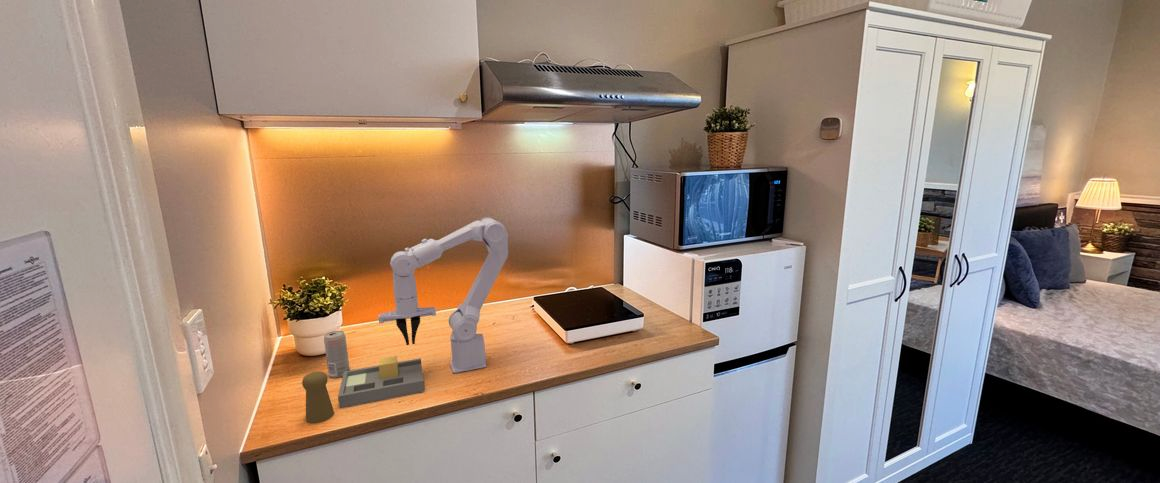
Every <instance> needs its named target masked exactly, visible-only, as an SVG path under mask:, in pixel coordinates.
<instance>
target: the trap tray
mask: <svg viewBox="0 0 1160 483" xmlns="http://www.w3.org/2000/svg"><path fill="white" fill-rule="evenodd" d="M397 363H398V376H395V377H390V378H384V379H380V373H379V364H378V365H373V366H369V367H368V366H367V367H362V368H361V367H360V368H356V369H350V370H349V371H344V373H343V377H341V381H340V382H341V383H340V387H339V391H338V394H337V397H338V407H339V409H342V408H347V407H352V406H357V405H363V404H367V403H373V402H378V401H379V402H380V401H383V400H389V399H393V398H400V397H404V396H410V395H414V394H421V393H425V382H424V375H423V374H424V373H423V366H422V365H423V364H422V357H421V358H420V357H419V358H413V359H408V360H403V361H397Z"/></svg>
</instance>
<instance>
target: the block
mask: <svg viewBox="0 0 1160 483" xmlns="http://www.w3.org/2000/svg"><path fill="white" fill-rule="evenodd" d="M397 362H398V355H391V356H385V357H380V358H379V359H378V365H379V373H380V379H384V378H390V377H395V376H398V363H397Z"/></svg>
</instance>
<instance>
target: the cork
mask: <svg viewBox="0 0 1160 483" xmlns="http://www.w3.org/2000/svg"><path fill="white" fill-rule="evenodd" d="M327 383H328V375H327V373H325V372H324V371H321V370H320V371H312V372H309V373H307V374H305V376H303V378H302V381H301V384H302V387H303V389H304V390H305V422H306V423H308V424H312V425H313V424H320V423H323V422H326V421H328V420H330V419H331V418H332V417H333V416H334V415H335V410H334V407H333V404H332V401H331V397H330V394H329V391H328V388H327Z"/></svg>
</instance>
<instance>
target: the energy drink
mask: <svg viewBox="0 0 1160 483" xmlns="http://www.w3.org/2000/svg"><path fill="white" fill-rule="evenodd" d="M323 343H324V349H325V351H324V352H325V357H326V364H327V365H326V366H327V370H328V371H327V372H328V377H331V378H333V379H339V378H342V377H343V373H344V371H349V370H351V369H350V361H349V354H348V353H349V352H348V347H347V345H348V344H347V339H346V334H345V332H344V331H343V330H333V331H330V332H327V333H325V334H324V338H323Z"/></svg>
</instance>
